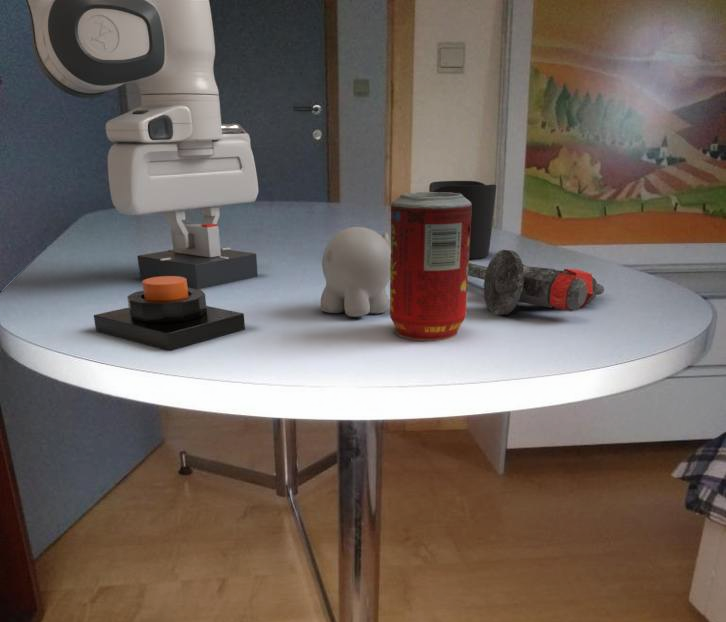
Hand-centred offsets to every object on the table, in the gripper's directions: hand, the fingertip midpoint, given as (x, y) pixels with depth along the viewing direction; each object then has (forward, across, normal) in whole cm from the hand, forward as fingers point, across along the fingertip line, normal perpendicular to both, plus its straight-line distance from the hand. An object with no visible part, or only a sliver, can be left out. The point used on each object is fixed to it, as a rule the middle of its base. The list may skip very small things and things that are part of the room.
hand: (196, 247), depth 90 cm
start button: (+1, +19, +18) cm, 26 cm away
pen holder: (+4, -34, +18) cm, 39 cm away
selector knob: (+1, 0, 0) cm, 1 cm away
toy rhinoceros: (+4, 0, +28) cm, 28 cm away
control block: (+4, +19, +18) cm, 26 cm away
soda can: (+4, +5, +38) cm, 39 cm away
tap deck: (+4, 0, 0) cm, 4 cm away
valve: (+4, -15, +38) cm, 41 cm away
